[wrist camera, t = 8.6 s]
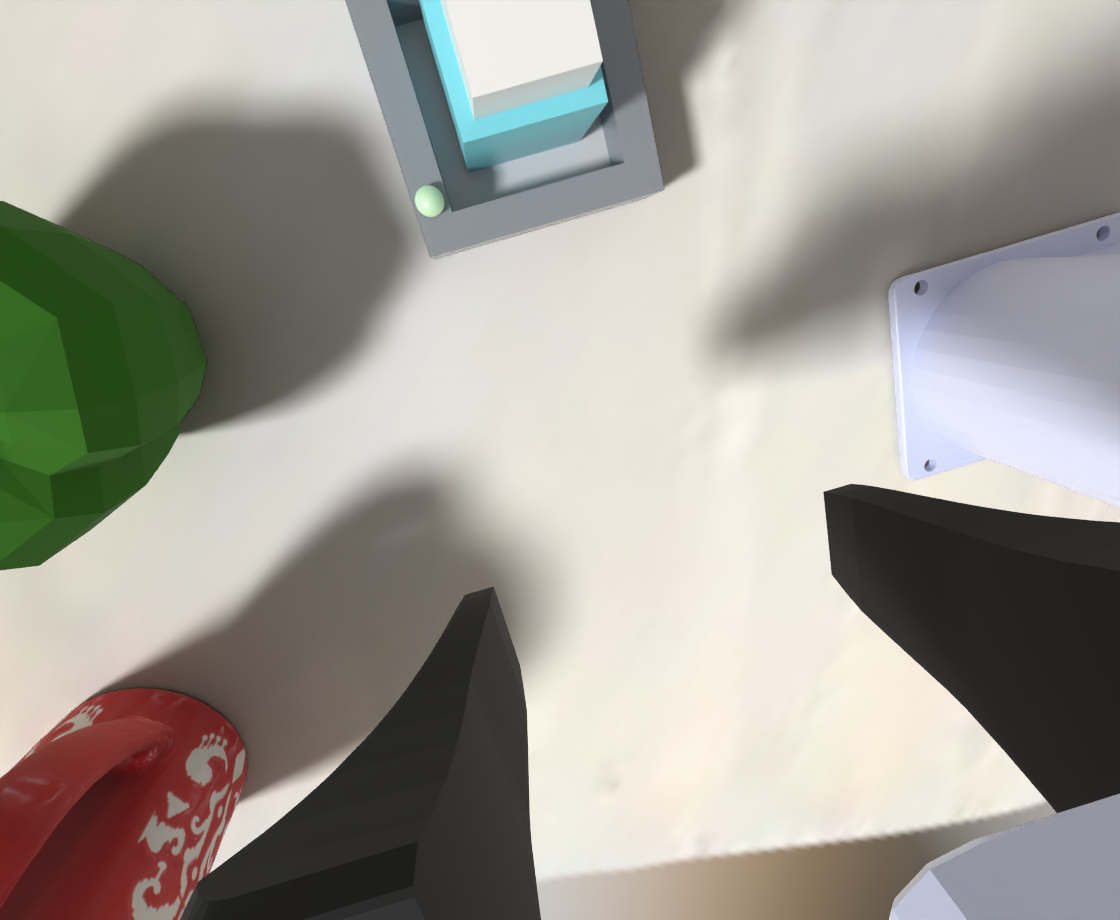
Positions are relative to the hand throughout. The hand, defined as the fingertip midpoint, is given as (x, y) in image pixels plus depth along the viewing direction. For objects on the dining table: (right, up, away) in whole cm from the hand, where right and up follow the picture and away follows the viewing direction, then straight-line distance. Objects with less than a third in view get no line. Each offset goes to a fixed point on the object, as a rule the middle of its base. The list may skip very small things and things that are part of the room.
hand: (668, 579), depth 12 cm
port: (-4, +13, +6) cm, 15 cm away
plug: (-4, +14, +5) cm, 15 cm away
